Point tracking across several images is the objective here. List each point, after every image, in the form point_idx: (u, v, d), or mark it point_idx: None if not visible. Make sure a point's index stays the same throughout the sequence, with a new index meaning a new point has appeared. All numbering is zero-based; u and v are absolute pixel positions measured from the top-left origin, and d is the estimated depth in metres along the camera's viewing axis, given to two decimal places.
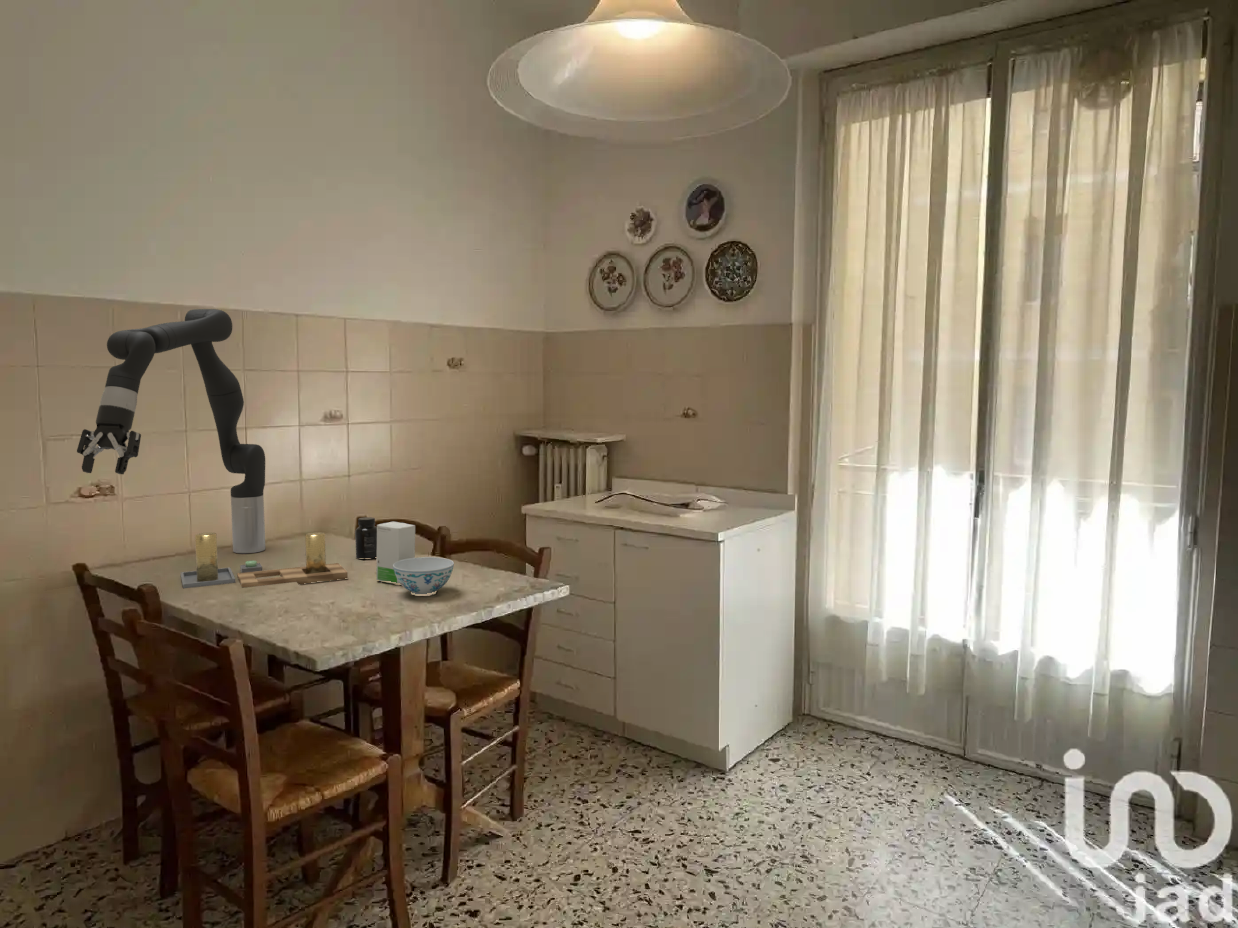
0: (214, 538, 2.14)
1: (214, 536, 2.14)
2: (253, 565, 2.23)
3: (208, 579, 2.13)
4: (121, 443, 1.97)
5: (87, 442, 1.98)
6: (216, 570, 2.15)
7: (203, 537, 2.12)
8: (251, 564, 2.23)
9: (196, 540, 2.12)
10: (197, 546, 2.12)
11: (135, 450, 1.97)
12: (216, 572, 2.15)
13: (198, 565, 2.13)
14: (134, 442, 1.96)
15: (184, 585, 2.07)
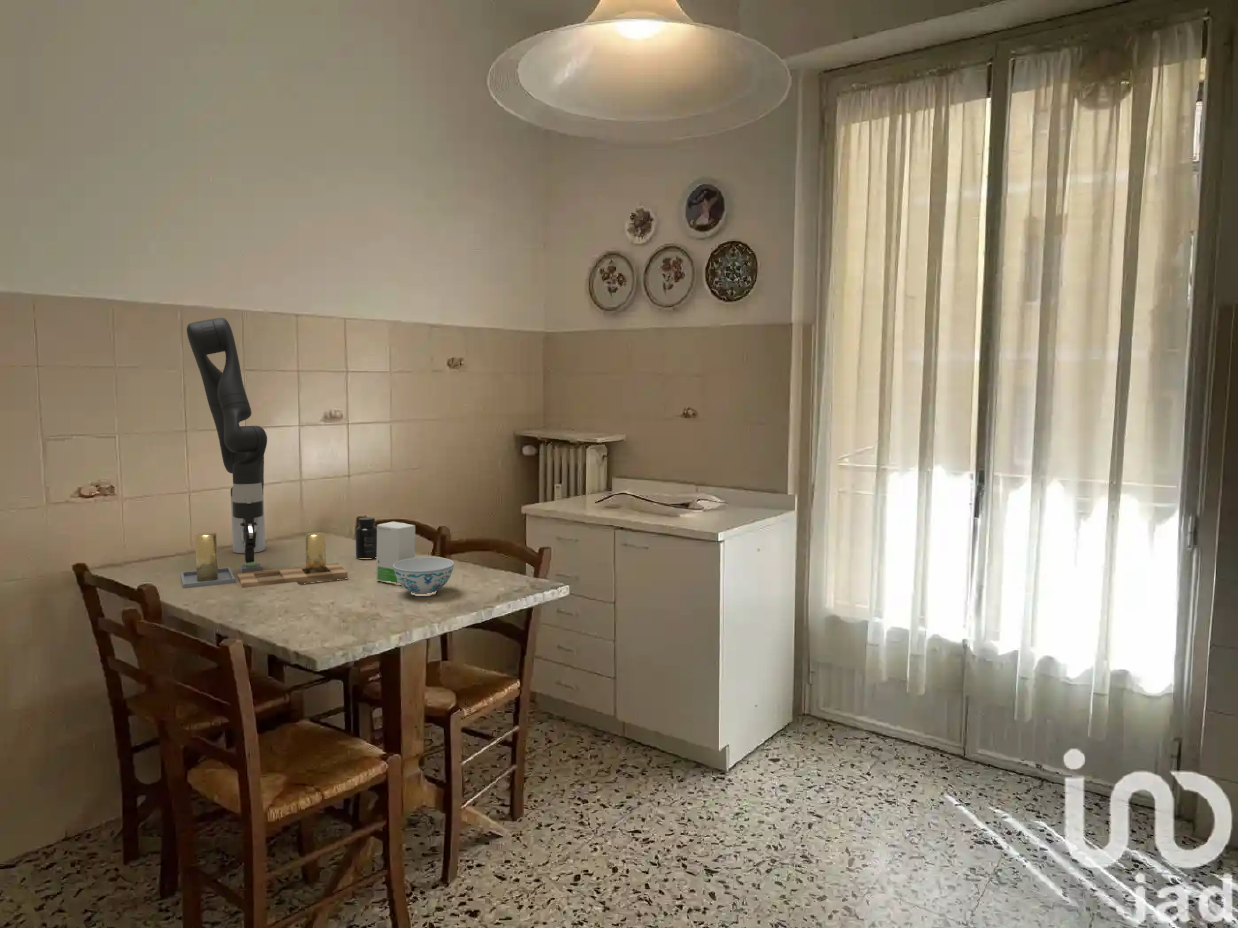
0: (214, 538, 2.14)
1: (214, 536, 2.14)
2: (253, 565, 2.23)
3: (208, 579, 2.13)
4: None
5: None
6: (216, 570, 2.15)
7: (203, 537, 2.12)
8: (251, 564, 2.23)
9: (196, 540, 2.12)
10: (197, 546, 2.12)
11: None
12: (216, 572, 2.15)
13: (198, 565, 2.13)
14: None
15: (184, 585, 2.07)
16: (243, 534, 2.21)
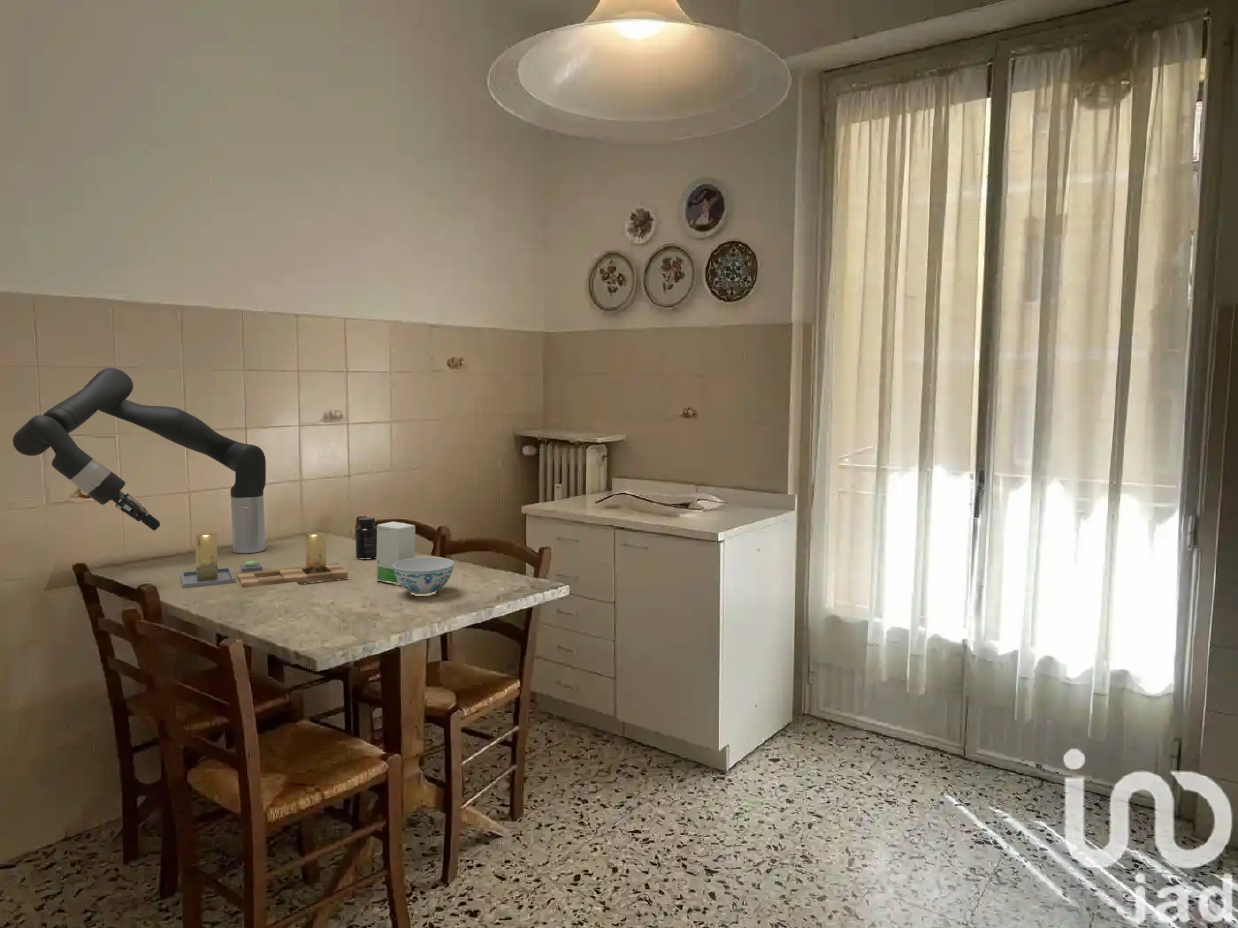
0: (214, 538, 2.14)
1: (214, 536, 2.14)
2: (253, 565, 2.23)
3: (208, 579, 2.13)
4: None
5: None
6: (216, 570, 2.15)
7: (203, 537, 2.12)
8: (251, 564, 2.23)
9: (196, 540, 2.12)
10: (197, 546, 2.12)
11: None
12: (216, 572, 2.15)
13: (198, 565, 2.13)
14: None
15: (184, 585, 2.07)
16: None
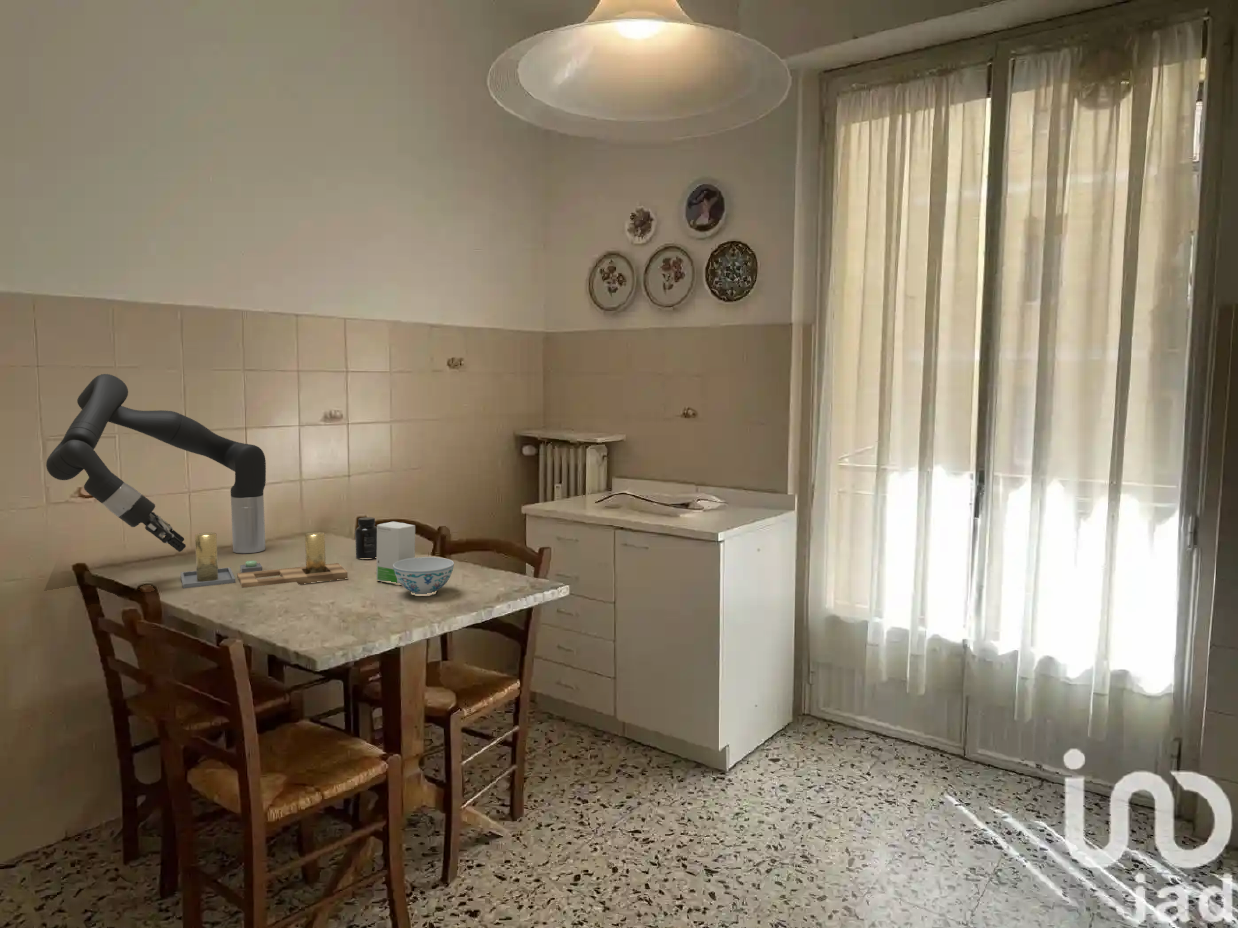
0: (214, 538, 2.14)
1: (214, 536, 2.14)
2: (253, 565, 2.23)
3: (208, 579, 2.13)
4: None
5: None
6: (216, 570, 2.15)
7: (203, 537, 2.12)
8: (251, 564, 2.23)
9: (196, 540, 2.12)
10: (197, 546, 2.12)
11: None
12: (216, 572, 2.15)
13: (198, 565, 2.13)
14: None
15: (184, 585, 2.07)
16: None
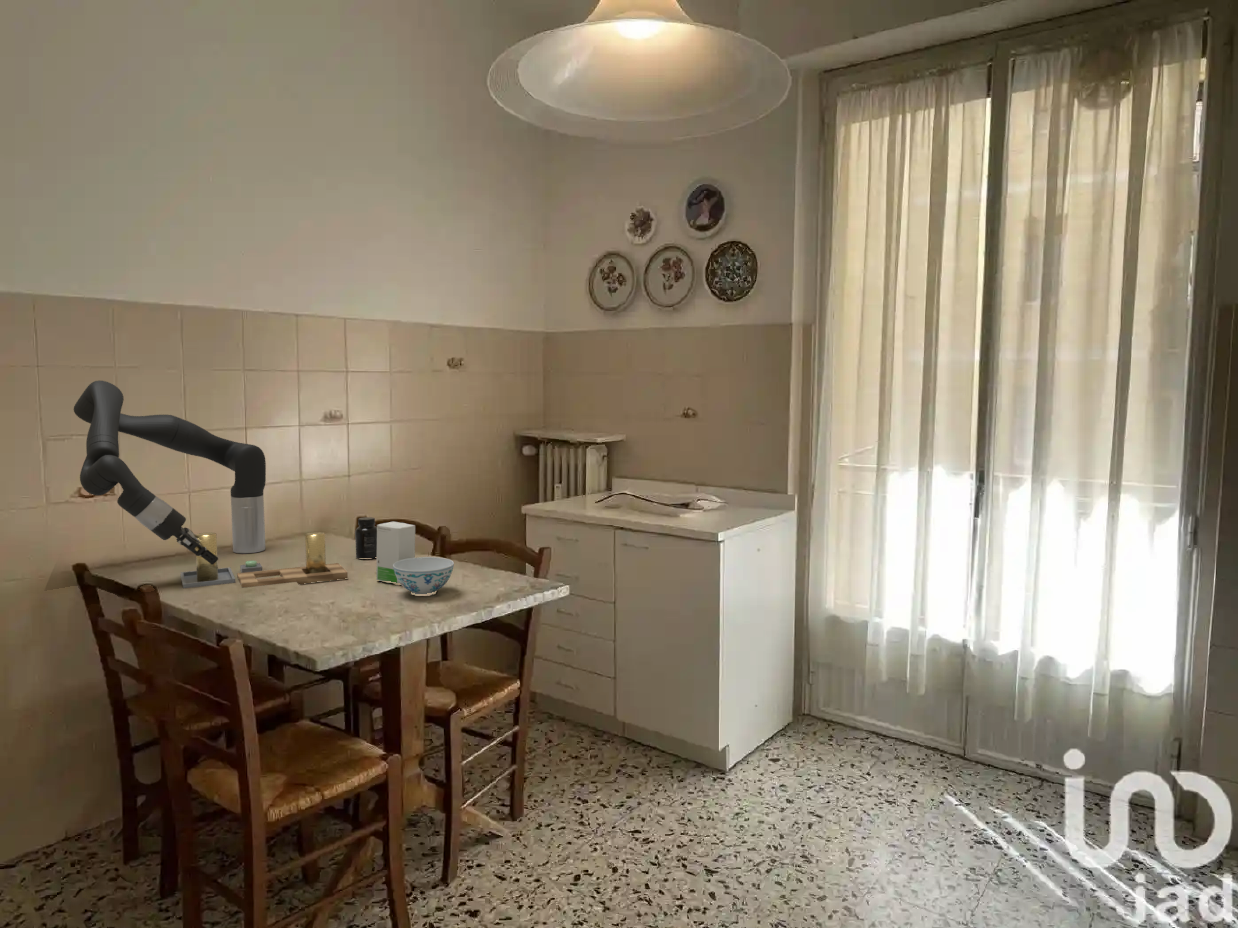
0: (214, 538, 2.14)
1: (214, 536, 2.14)
2: (253, 565, 2.23)
3: (208, 579, 2.13)
4: None
5: None
6: (216, 570, 2.15)
7: (203, 537, 2.12)
8: (251, 564, 2.23)
9: None
10: None
11: None
12: (216, 572, 2.15)
13: (198, 565, 2.13)
14: None
15: (184, 585, 2.07)
16: None
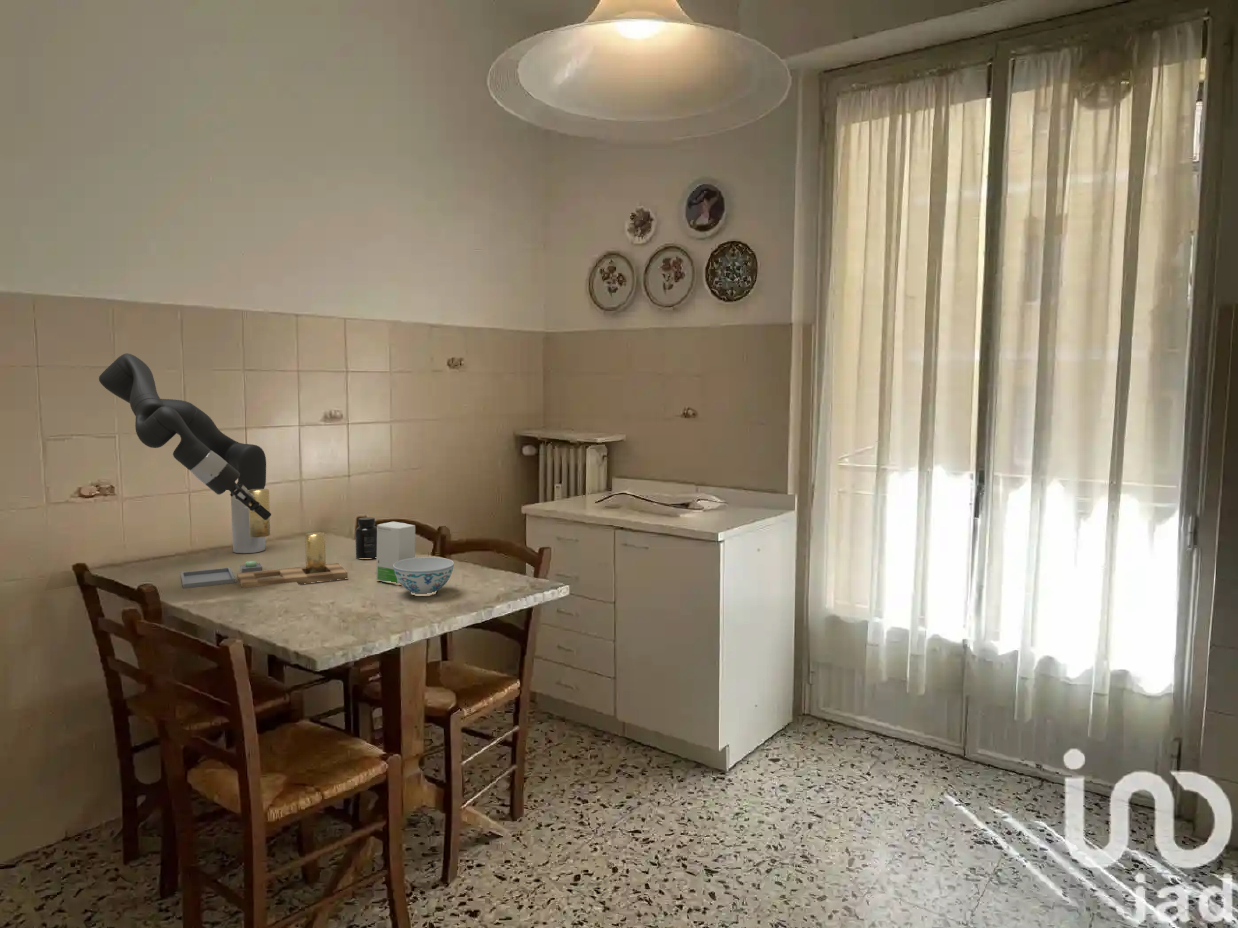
0: (266, 494, 2.13)
1: (267, 492, 2.13)
2: (253, 565, 2.23)
3: (261, 535, 2.13)
4: None
5: None
6: (268, 526, 2.14)
7: (256, 492, 2.11)
8: (251, 564, 2.23)
9: (249, 495, 2.12)
10: None
11: None
12: (268, 528, 2.14)
13: (251, 521, 2.12)
14: None
15: (184, 585, 2.07)
16: (239, 500, 2.09)
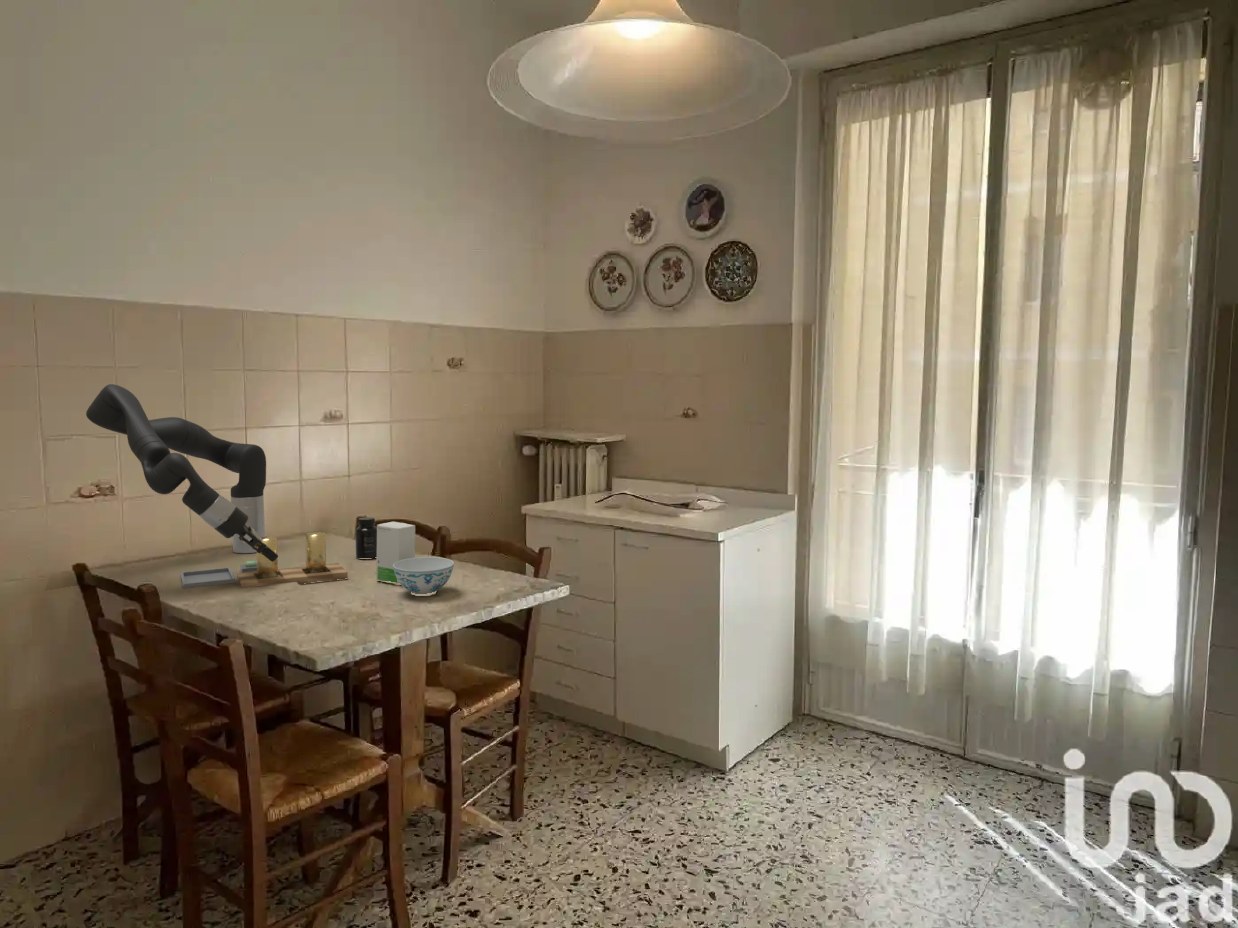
0: (274, 542, 2.15)
1: (275, 540, 2.15)
2: (253, 565, 2.23)
3: None
4: None
5: None
6: (276, 574, 2.16)
7: (264, 541, 2.13)
8: (251, 564, 2.23)
9: None
10: None
11: None
12: (276, 576, 2.16)
13: (259, 569, 2.14)
14: None
15: (184, 585, 2.07)
16: (247, 543, 2.10)
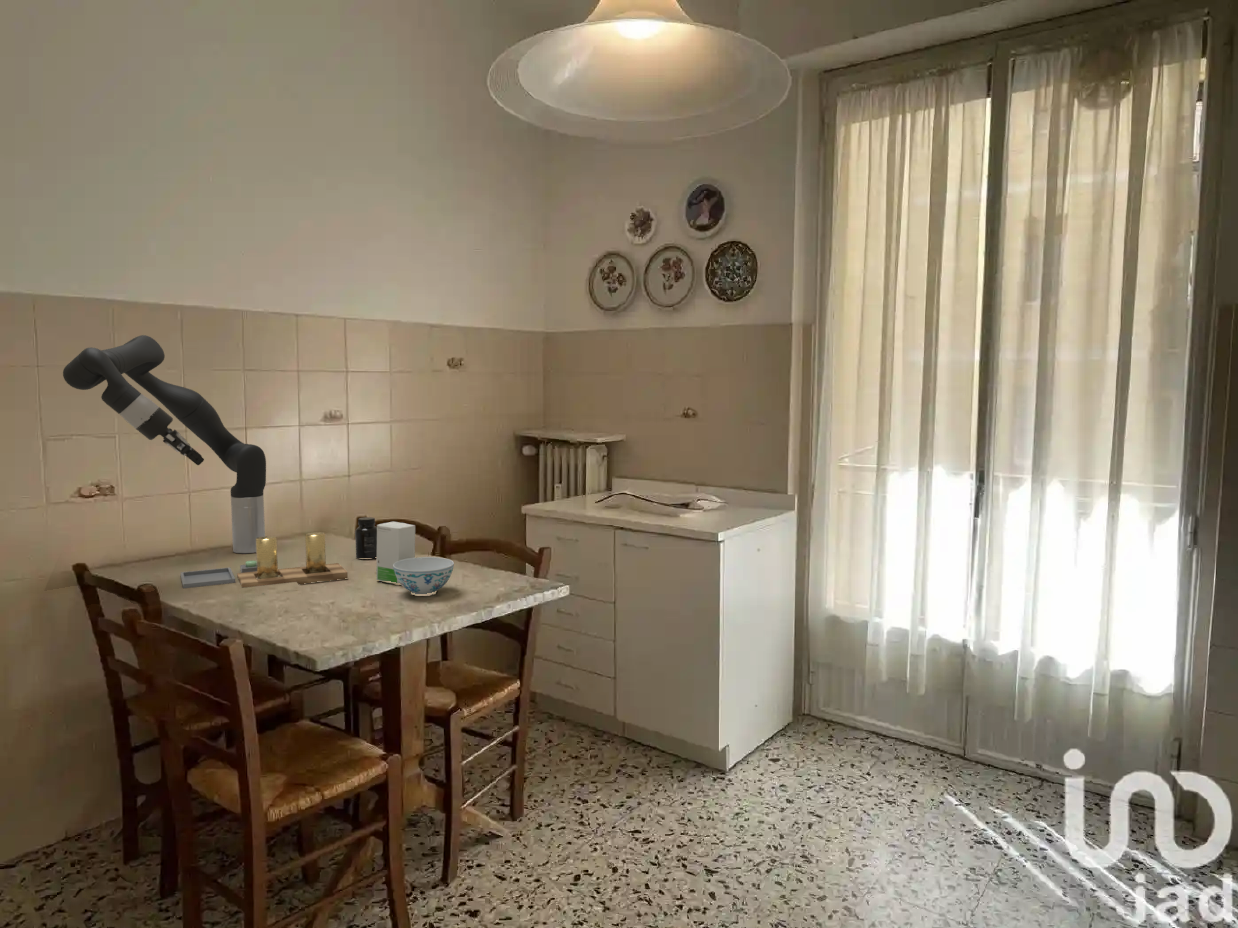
0: (274, 542, 2.15)
1: (275, 540, 2.15)
2: (253, 565, 2.23)
3: None
4: None
5: None
6: (276, 574, 2.16)
7: (264, 541, 2.13)
8: (251, 564, 2.23)
9: (257, 544, 2.14)
10: (258, 549, 2.14)
11: None
12: (276, 576, 2.16)
13: (259, 569, 2.14)
14: None
15: (184, 585, 2.07)
16: (171, 445, 2.03)
